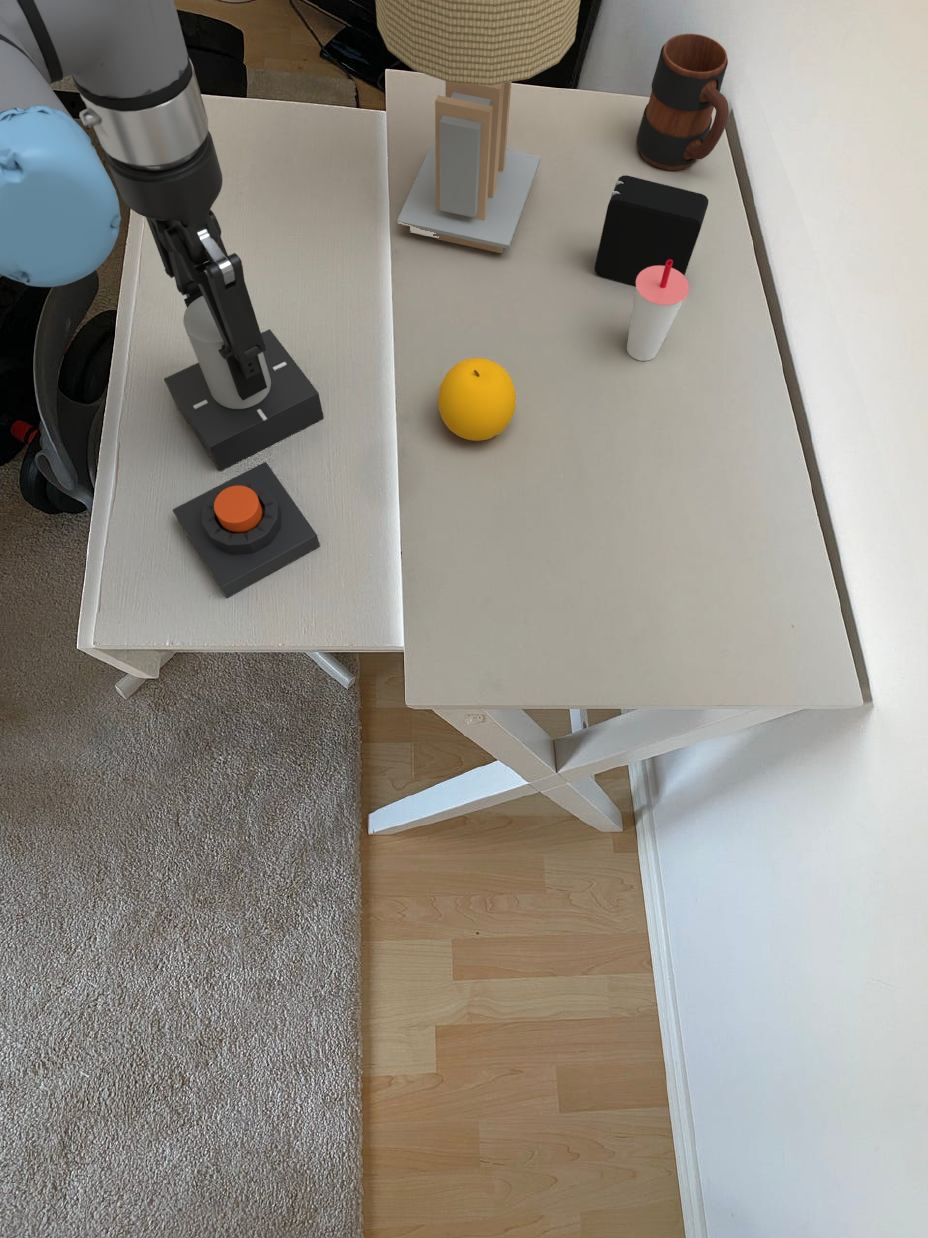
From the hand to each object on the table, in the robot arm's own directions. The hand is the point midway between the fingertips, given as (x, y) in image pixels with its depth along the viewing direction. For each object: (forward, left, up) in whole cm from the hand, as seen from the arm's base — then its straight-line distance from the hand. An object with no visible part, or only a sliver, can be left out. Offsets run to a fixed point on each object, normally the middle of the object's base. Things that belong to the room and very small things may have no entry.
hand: (234, 368), depth 76 cm
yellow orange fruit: (+19, -14, -7) cm, 25 cm away
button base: (-7, -13, -6) cm, 16 cm away
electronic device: (+47, -7, -7) cm, 48 cm away
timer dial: (0, 0, -2) cm, 2 cm away
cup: (+40, -16, -7) cm, 44 cm away
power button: (-7, -13, -3) cm, 15 cm away
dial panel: (0, 0, -6) cm, 6 cm away
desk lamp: (+37, +13, -7) cm, 40 cm away
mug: (+64, +6, -7) cm, 65 cm away
